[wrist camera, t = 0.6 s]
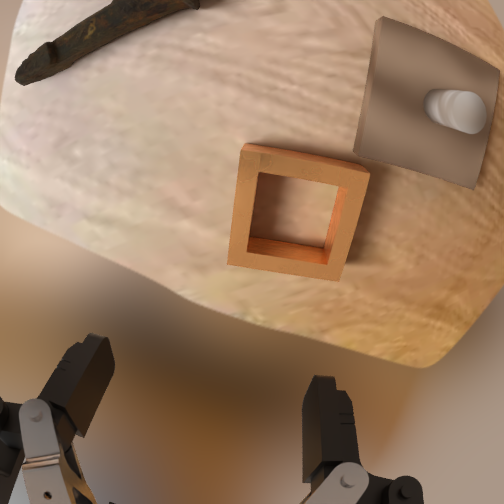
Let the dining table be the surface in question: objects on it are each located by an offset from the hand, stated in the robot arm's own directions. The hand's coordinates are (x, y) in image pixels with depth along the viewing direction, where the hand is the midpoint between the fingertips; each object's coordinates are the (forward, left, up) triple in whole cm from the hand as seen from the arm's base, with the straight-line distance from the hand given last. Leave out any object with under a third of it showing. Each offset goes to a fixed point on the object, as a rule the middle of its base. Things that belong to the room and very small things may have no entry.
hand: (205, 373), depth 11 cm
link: (0, +4, -19) cm, 19 cm away
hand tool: (-14, -15, -19) cm, 28 cm away
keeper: (-12, +14, -19) cm, 26 cm away
